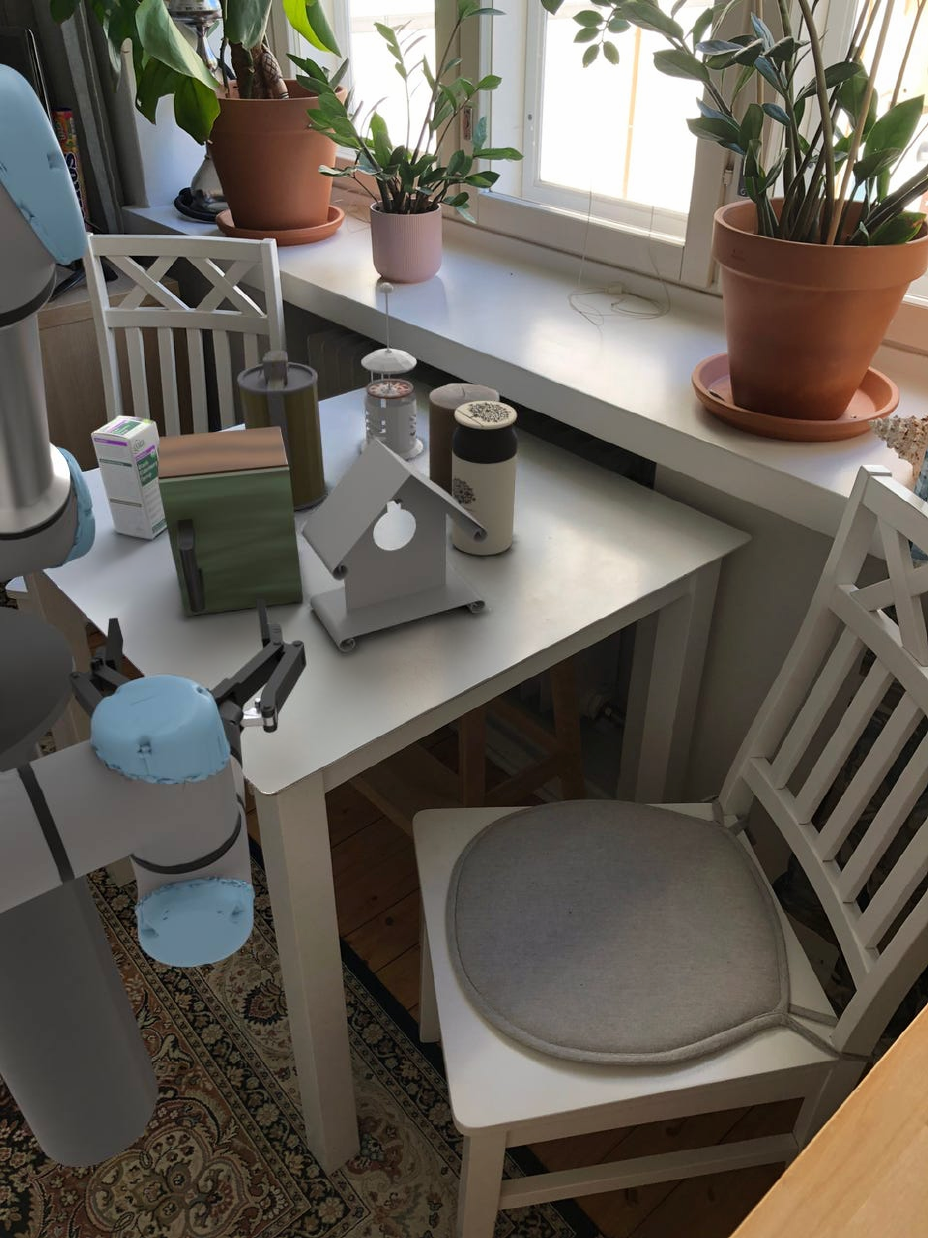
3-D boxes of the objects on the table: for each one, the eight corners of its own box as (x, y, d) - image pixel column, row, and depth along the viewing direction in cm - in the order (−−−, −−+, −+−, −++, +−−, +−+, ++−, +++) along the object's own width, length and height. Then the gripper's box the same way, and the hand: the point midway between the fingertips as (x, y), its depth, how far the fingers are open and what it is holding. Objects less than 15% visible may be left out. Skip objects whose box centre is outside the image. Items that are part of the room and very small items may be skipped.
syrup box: (152, 541, 121) (130, 438, 112) (114, 532, 122) (89, 430, 114) (177, 520, 125) (157, 419, 116) (139, 512, 127) (117, 413, 118)
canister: (255, 477, 135) (237, 343, 123) (327, 475, 136) (316, 341, 124) (250, 515, 126) (230, 373, 115) (326, 511, 127) (315, 371, 116)
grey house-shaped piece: (339, 653, 102) (325, 492, 90) (309, 609, 109) (293, 453, 97) (485, 610, 109) (490, 455, 97) (449, 571, 116) (450, 421, 104)
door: (309, 632, 105) (295, 497, 95) (185, 649, 102) (157, 512, 92) (302, 597, 110) (288, 466, 100) (185, 612, 108) (158, 479, 97)
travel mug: (494, 520, 126) (499, 395, 115) (523, 548, 120) (531, 419, 110) (441, 533, 123) (441, 405, 112) (468, 563, 117) (471, 431, 107)
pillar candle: (450, 508, 129) (451, 406, 120) (417, 479, 135) (415, 381, 127) (509, 491, 133) (514, 392, 124) (474, 464, 139) (476, 368, 131)
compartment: (302, 597, 111) (288, 464, 100) (185, 612, 108) (157, 476, 98) (294, 553, 119) (279, 426, 108) (184, 566, 116) (159, 436, 105)
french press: (370, 465, 139) (361, 296, 124) (349, 434, 148) (339, 272, 133) (432, 455, 142) (430, 289, 127) (408, 425, 150) (404, 266, 136)
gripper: (36, 837, 72) (62, 669, 89) (355, 782, 77) (323, 633, 94) (9, 768, 68) (42, 605, 84) (349, 714, 73) (317, 570, 89)
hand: (190, 619), depth 89 cm, fingers open, 13 cm apart
